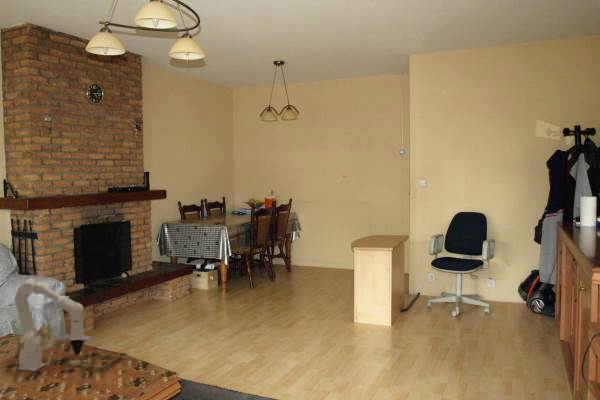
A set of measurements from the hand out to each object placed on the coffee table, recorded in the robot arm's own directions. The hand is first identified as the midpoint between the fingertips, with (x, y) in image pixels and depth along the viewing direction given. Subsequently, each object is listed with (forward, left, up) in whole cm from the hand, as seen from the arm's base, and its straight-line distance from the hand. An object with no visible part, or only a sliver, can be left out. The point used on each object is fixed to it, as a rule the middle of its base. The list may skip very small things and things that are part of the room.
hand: (77, 354), depth 241 cm
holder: (+13, 0, -4) cm, 14 cm away
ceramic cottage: (-36, +15, -5) cm, 39 cm away
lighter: (-1, 0, -3) cm, 4 cm away
